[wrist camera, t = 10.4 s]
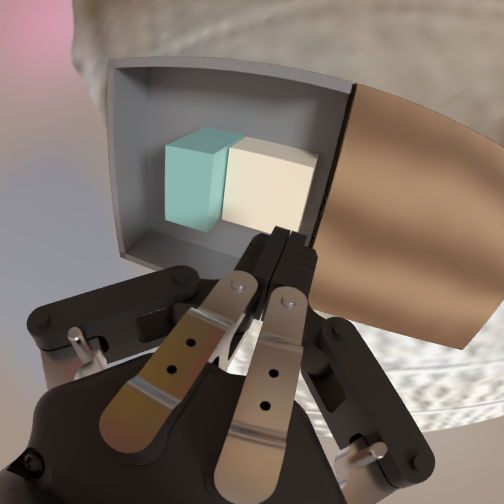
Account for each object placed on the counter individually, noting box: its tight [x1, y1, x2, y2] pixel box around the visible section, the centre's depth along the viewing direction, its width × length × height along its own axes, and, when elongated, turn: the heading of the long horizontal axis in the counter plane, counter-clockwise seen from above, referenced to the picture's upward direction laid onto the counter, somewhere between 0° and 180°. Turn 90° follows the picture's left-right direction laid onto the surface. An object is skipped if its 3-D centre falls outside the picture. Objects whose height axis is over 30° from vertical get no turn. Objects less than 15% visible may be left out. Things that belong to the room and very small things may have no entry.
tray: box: [107, 56, 352, 280], centre depth 19 cm, size 16×15×4 cm
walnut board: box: [308, 83, 504, 350], centre depth 17 cm, size 16×16×3 cm
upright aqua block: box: [165, 127, 245, 233], centre depth 19 cm, size 5×5×3 cm
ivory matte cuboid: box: [222, 137, 319, 234], centre depth 19 cm, size 5×5×3 cm
